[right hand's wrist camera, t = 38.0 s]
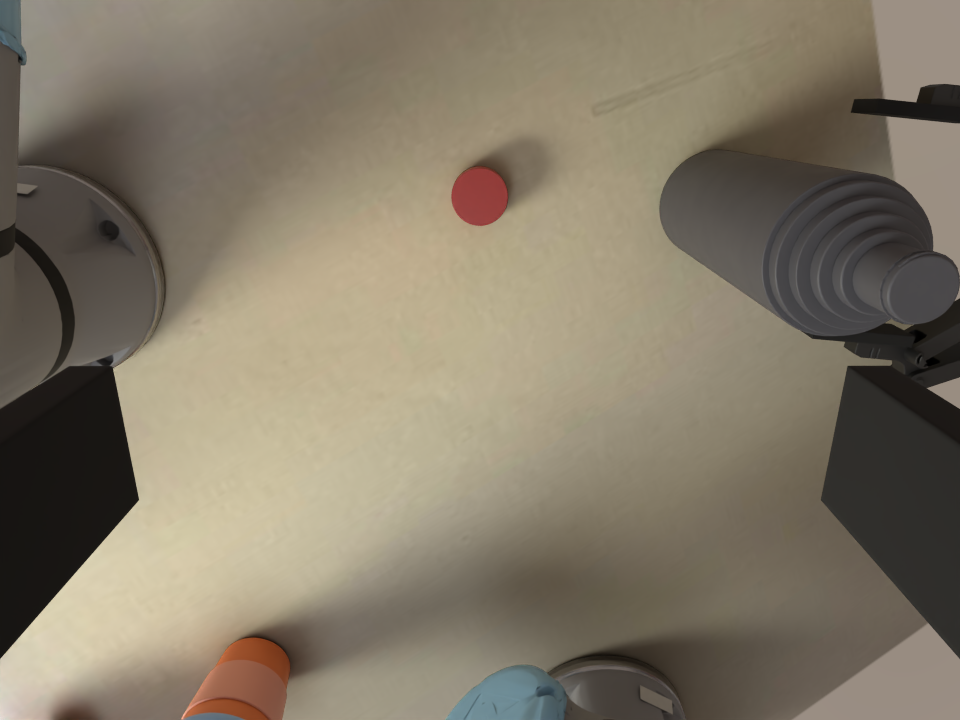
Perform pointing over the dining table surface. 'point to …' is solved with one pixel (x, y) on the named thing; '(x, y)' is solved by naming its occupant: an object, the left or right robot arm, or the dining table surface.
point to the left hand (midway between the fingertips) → (831, 222)
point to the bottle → (810, 241)
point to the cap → (479, 196)
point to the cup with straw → (244, 684)
